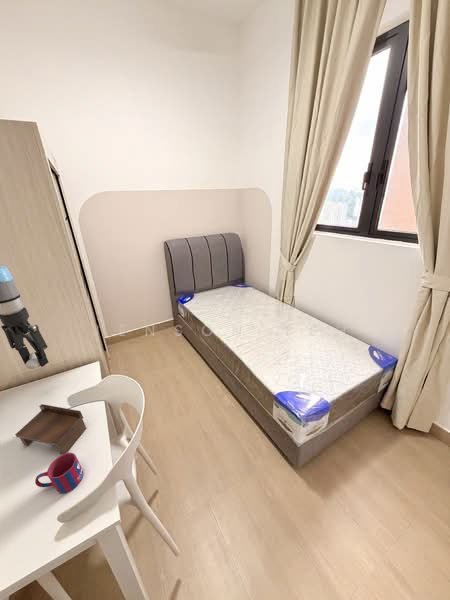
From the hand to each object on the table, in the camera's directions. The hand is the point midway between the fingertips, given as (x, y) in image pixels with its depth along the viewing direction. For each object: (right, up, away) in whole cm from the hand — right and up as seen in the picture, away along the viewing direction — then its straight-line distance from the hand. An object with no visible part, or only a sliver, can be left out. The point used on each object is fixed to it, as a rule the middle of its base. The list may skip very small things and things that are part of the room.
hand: (36, 363), depth 92 cm
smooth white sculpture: (0, 0, 0) cm, 1 cm away
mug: (+28, -26, -26) cm, 46 cm away
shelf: (+17, -21, -13) cm, 30 cm away
